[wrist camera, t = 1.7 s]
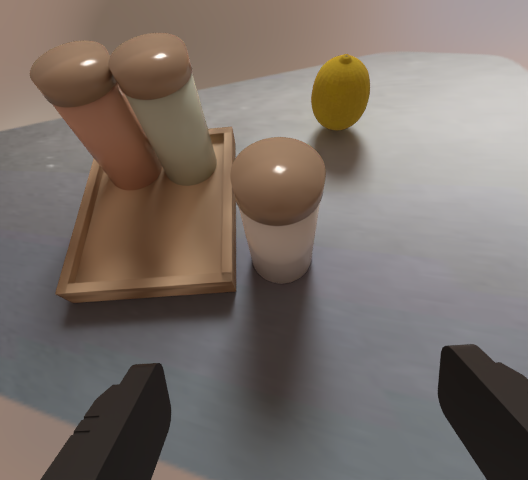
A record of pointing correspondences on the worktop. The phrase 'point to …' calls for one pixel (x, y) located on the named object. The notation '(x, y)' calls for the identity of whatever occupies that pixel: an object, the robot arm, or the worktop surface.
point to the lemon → (340, 92)
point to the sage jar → (166, 104)
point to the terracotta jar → (97, 111)
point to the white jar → (279, 204)
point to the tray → (154, 236)
